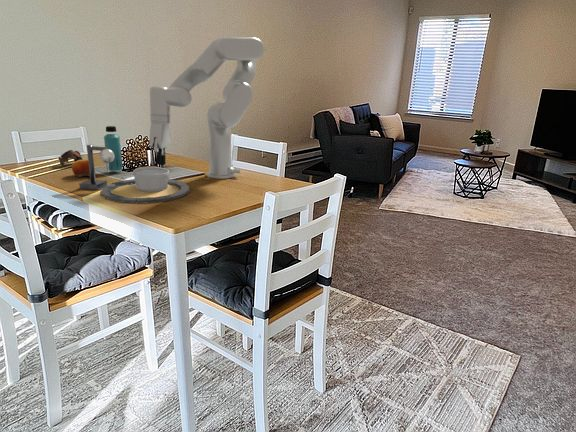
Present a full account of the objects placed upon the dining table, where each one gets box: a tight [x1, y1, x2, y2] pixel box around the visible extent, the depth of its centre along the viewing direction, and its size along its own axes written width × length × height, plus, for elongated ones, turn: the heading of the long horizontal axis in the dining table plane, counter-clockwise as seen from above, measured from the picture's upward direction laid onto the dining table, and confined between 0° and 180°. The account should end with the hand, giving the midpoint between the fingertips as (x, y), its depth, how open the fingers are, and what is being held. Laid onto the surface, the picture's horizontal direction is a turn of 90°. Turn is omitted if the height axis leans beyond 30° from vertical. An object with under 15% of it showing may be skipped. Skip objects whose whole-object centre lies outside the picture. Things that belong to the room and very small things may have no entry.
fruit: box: [71, 159, 90, 178], centre depth 172 cm, size 8×8×8 cm
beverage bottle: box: [103, 125, 123, 172], centre depth 178 cm, size 6×7×20 cm
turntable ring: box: [100, 178, 190, 204], centre depth 156 cm, size 31×31×1 cm
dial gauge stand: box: [78, 144, 115, 191], centre depth 155 cm, size 12×7×16 cm, turn 84°
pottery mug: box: [58, 149, 84, 166], centre depth 190 cm, size 12×10×8 cm
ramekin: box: [132, 166, 170, 192], centre depth 160 cm, size 13×13×7 cm
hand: (161, 164), depth 170 cm, fingers closed
